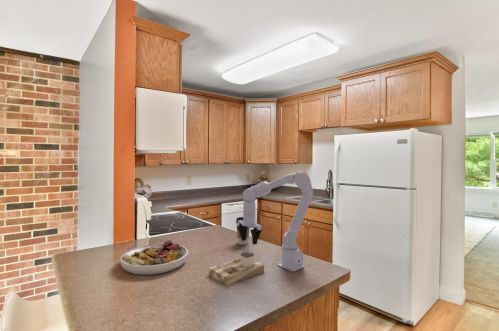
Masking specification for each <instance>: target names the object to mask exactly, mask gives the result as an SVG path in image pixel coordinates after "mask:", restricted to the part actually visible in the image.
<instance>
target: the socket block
mask: <svg viewBox="0 0 499 331" xmlns="http://www.w3.org/2000/svg"><path fill="white" fill-rule="evenodd" d="M264 272H265V264H263V263H261V262H258V261H256V260H254V266H252V267H249V268H245V267H242V266H241V257H240V258H236V259H233V260H229V261H227V262H224V263H221V264H217V265H215V266H211V267H208V276H210V277H212V278H214V279H215V280H217V281H219V282H220V283H222V284H224V285H226V286H230V285H232V284H235V283H237V282H238V283H239V282H241V281H244V280H247V279H248V278H250V277H251V278H252V277H254V276H257V275H258V274H259V275H260V274H261V273H264Z"/></svg>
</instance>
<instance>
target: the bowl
mask: <svg viewBox="0 0 499 331" xmlns="http://www.w3.org/2000/svg"><path fill="white" fill-rule="evenodd" d="M188 256H189V250H188V248H186V247H185V246H183V245H180V244H179V243H174V242H173V241H172V240H171V239H168V240H165V241H164V242H163V243H156V244H155V243H154V244H149V245H142V246H139V247H135V248H133V249H132V248H131V249H130V250H128V251H126V252H124V253H123V254H121V256H120V258H119V261H120V262H119V263H120V265H121V267H122V268H123V270H124V271H126V272H128V273H130V274H133V275H134V274H135V275H142V276H150V275H159V274H164V273H167V272H171V271H174V270H176V269H178V268H179V267H181V266H182V265H183V264H184V263H185V262H186V261H187V259H188V258H189V257H188Z"/></svg>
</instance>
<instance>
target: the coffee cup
mask: <svg viewBox="0 0 499 331" xmlns="http://www.w3.org/2000/svg"><path fill="white" fill-rule="evenodd" d="M239 220H243V216H241V217H240V216H238V217H236V220H235V224H236V233H237V244H238V245H244V246H246V245H248V244H249V237H250V230H251V228H250V227H248V229H247V235H246V240H245V241H242V239H241V235H240V232H239V230H238V228H237V226H239V225H238V221H239Z"/></svg>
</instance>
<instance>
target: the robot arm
mask: <svg viewBox="0 0 499 331" xmlns="http://www.w3.org/2000/svg"><path fill="white" fill-rule="evenodd" d="M286 184H291V185H294V184H295V186H297V187H298V188H299V190H300V192H301V197H300V199H299V202H298V205H297V207H296V209H295V212H294V214H293V217H292V219H291V221H290V224H289V226H288V228H287V230H286V231H285V232H284V233H283V237H282V240H281V263H279V264H277V266H278V267H280V268H283V269H285V270H287V271H291V272H292V273H295V272H297V271H299V270H301V269H303V268H305V266H304V252H303V251H302V249H301V250H300V249H299V247H298V245H297V238H298V234H299V231H300V228H301V226H302V223H303V221H304V219H305V216H306V213H307V211H308V208H309V206H310V203H311V202H312V199H313V196H314V190H313V186H312V181H311V178H310V176H309V175H308V173H307V172H305V171H303V170H299V171H297V172H291V173H288V174H286V175H283V176H281V177H279V178H277V179H274V180H273V181H271V182H268V181H263V180H262V181H259V183H258V184H256V185H251V186H250V187H249V188H246V189H244V190H243V192H242V195H241V196H242V199H243V209H242V210H243V211H242V212H243V215H242V217H243V220H239V221H238V225H239V226H237V225H236V229H237V228H238V230H239V232H240V235H241V239H242V241H245V240H246V235H247V229H248V227H250V230H249V232H250V233H251V234H250V235H251V237H252V238H251V240H252V242H251V244H252V245H257V244H258V241H259V238H260V235H261V233H262V231H263V229H262V227H263V226H262V225H261V224H259V223H257V222H256V199H257V198H261V197H263V196H266V195H268V194H270V193H271V191H272V189H275V188H278V187H281V186H284V185H286Z"/></svg>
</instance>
